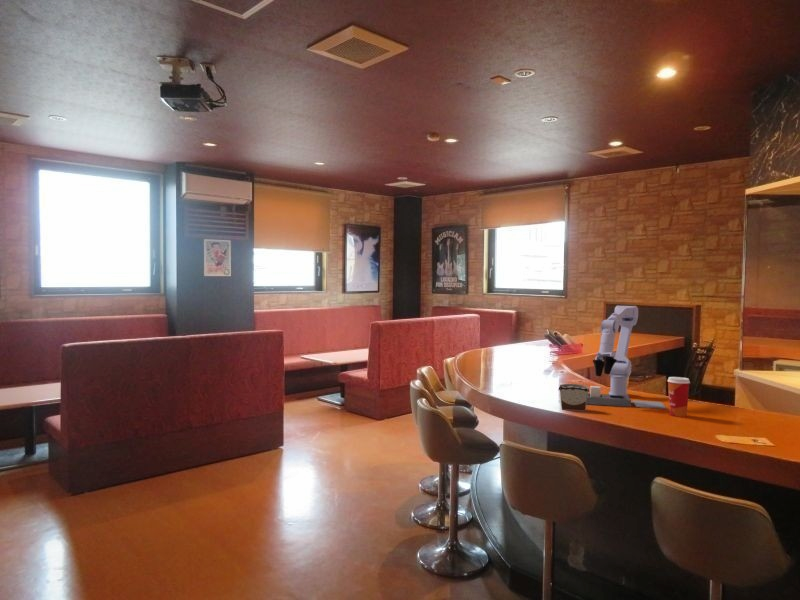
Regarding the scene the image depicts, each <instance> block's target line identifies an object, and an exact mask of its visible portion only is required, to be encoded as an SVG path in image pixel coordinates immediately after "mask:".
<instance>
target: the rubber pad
mask: <svg viewBox="0 0 800 600" xmlns="http://www.w3.org/2000/svg"><path fill="white" fill-rule="evenodd" d="M631 404H633V405H634V407H635V408H643V409H656V410H657V409H658V410H659V409H660V410H667V409H668V408H667V407H666V406H665V405H664V403H662V402H661V401H654V400H653V401H650V400H649V401H648V400H634V399H632V400H631Z"/></svg>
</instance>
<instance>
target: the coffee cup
mask: <svg viewBox="0 0 800 600" xmlns="http://www.w3.org/2000/svg"><path fill="white" fill-rule="evenodd" d="M666 381H667V382H668V383H667V386H668V387H667V389H668V390H667V391H668V409H669V410H668V411H669V416H672V417H675V418H686V417H687V415H688V413H687V412H688V405H689V404H688V403H689V390H690V384H691V381H690V379H689V378H688V377H682V376H669V377H668V379H667V380H666Z"/></svg>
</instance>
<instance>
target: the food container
mask: <svg viewBox="0 0 800 600" xmlns="http://www.w3.org/2000/svg"><path fill="white" fill-rule="evenodd" d="M558 391H559V397H560V404H561V411H575V412H577V411H579V412H586V408H587V404H586V402H587V395H588V393H590V387H589V386H587V385H583V384H576V383H566V384H565V383H562V384H560V385H559V386H558Z"/></svg>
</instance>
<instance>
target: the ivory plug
mask: <svg viewBox="0 0 800 600" xmlns="http://www.w3.org/2000/svg"><path fill="white" fill-rule="evenodd" d="M601 390H602V388H601V386H599V385H590V387H589V393H590V397H601V394H602V391H601Z"/></svg>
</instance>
